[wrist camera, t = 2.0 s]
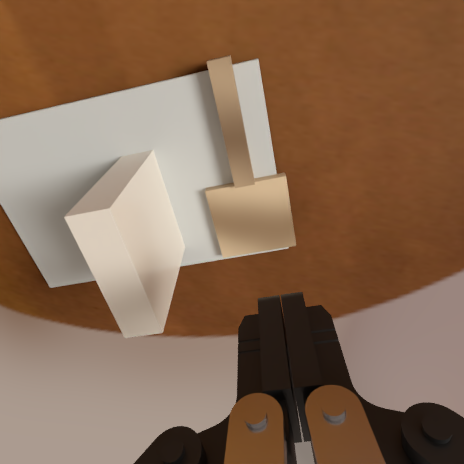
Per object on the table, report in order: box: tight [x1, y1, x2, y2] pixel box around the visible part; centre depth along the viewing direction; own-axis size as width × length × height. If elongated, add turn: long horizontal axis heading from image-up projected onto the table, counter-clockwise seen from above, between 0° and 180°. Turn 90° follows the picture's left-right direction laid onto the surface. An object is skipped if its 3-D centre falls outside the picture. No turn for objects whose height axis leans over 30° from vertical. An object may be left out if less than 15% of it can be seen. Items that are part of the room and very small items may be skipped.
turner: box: [205, 55, 296, 258], centre depth 21 cm, size 12×5×1 cm, turn 12°
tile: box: [64, 150, 185, 338], centre depth 19 cm, size 7×2×8 cm, turn 12°
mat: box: [0, 58, 288, 288], centre depth 23 cm, size 12×18×1 cm, turn 102°
